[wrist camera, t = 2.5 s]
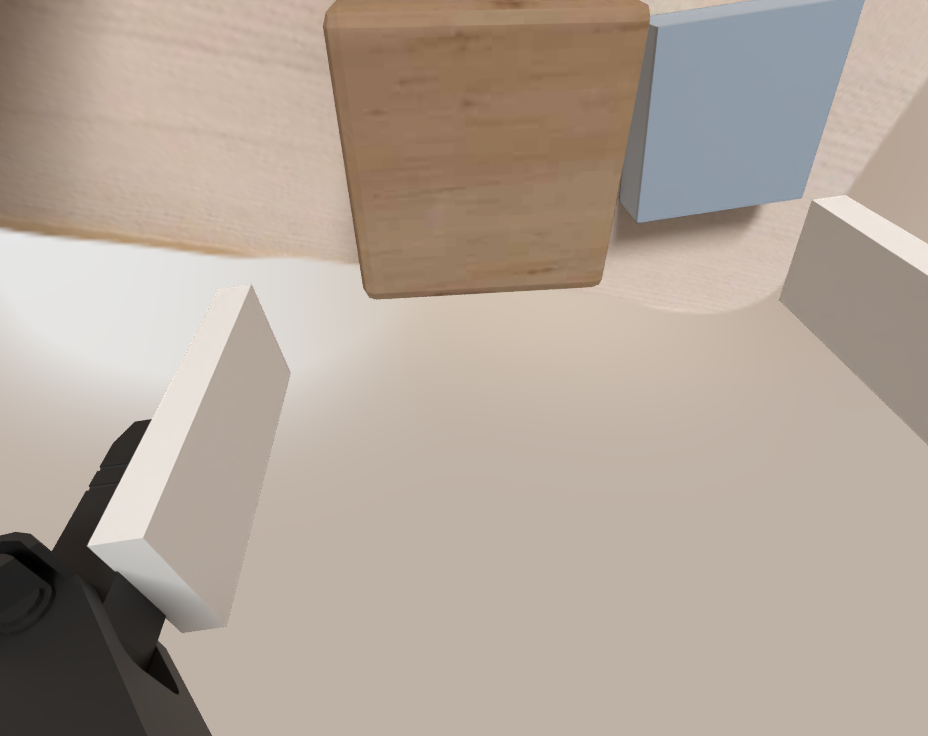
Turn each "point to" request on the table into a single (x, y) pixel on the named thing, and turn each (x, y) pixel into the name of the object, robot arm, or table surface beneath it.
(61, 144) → the table surface
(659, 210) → the base brick
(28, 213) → the table surface
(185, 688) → the robot arm
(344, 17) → the wooden block
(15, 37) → the table surface
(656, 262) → the table surface
